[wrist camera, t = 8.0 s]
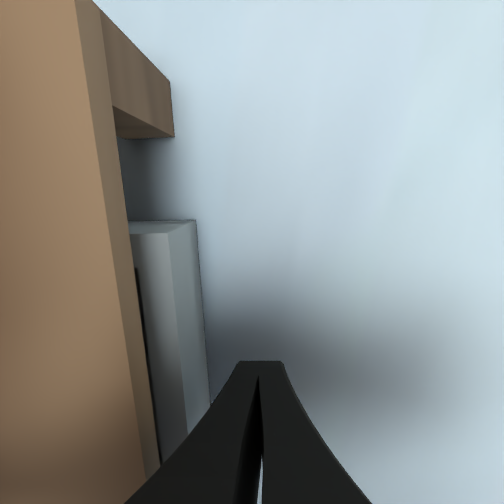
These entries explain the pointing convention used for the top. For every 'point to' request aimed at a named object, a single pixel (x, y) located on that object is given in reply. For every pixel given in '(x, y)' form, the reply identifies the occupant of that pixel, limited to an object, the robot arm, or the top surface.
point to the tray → (171, 326)
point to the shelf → (71, 256)
